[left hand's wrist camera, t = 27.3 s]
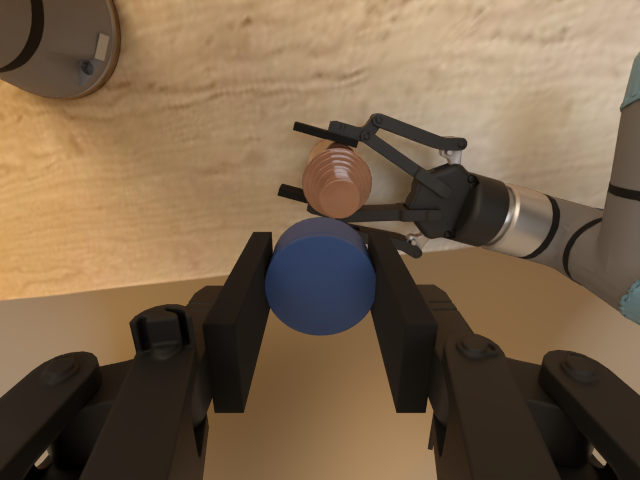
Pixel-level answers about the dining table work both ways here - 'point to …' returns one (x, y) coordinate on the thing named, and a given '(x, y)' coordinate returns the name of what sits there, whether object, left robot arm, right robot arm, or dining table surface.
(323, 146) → the bottle
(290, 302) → the cap
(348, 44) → the dining table surface
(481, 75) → the dining table surface
